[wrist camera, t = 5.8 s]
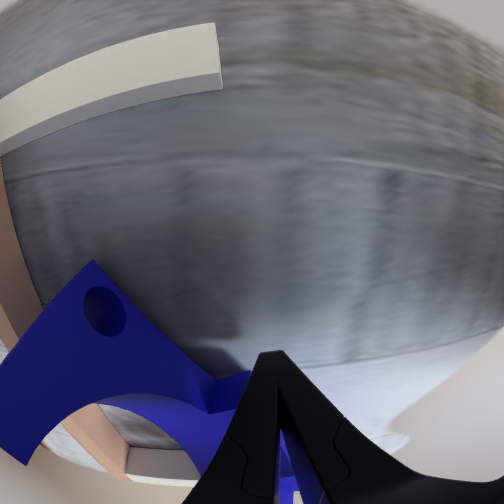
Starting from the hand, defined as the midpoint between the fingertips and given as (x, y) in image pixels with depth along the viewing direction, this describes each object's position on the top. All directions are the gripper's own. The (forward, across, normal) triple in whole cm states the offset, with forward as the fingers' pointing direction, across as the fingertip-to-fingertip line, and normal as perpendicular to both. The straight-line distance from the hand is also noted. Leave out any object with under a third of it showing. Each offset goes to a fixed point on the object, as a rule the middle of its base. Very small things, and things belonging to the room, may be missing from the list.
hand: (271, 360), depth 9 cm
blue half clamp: (+1, +3, +2) cm, 3 cm away
